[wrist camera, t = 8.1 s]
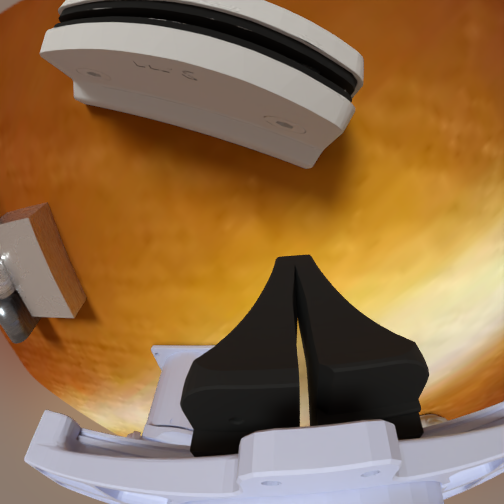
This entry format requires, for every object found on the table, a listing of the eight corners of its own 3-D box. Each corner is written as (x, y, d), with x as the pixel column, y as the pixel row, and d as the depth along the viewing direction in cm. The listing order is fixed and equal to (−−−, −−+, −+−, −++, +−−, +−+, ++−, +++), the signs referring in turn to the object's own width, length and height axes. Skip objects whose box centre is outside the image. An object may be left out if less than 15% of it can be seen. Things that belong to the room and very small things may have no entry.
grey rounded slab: (80, 103, 18) (-8, 64, 8) (105, 44, 17) (39, -23, 7) (311, 171, 20) (381, 164, 10) (333, 107, 19) (409, 58, 9)
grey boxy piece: (87, 297, 27) (67, 330, 23) (27, 297, 28) (7, 325, 24) (48, 201, 22) (16, 227, 18) (-10, 217, 23) (-38, 240, 19)
